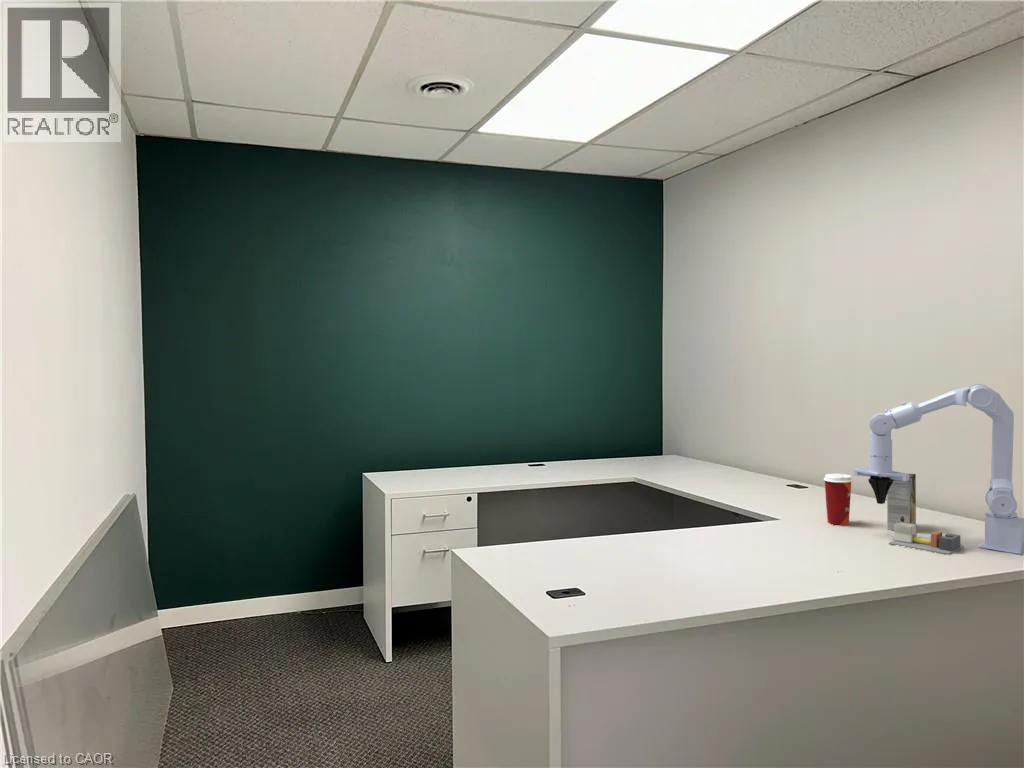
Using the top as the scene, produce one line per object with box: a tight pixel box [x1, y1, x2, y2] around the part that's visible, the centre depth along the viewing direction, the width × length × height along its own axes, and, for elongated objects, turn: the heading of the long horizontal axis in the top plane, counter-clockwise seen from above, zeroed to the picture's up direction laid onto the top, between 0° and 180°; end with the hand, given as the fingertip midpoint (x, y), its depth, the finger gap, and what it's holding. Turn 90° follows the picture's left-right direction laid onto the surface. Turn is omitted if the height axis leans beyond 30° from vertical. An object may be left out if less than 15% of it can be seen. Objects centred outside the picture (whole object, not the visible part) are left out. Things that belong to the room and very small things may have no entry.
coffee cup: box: [823, 473, 853, 526], centre depth 229 cm, size 8×8×15 cm
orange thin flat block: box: [930, 530, 943, 548], centre depth 201 cm, size 1×4×4 cm, turn 130°
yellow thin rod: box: [912, 536, 939, 545], centre depth 204 cm, size 13×1×1 cm, turn 40°
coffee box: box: [886, 473, 917, 531], centre depth 222 cm, size 9×6×16 cm
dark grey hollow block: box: [939, 532, 961, 552], centre depth 199 cm, size 4×6×3 cm, turn 130°
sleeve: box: [893, 522, 918, 543], centre depth 207 cm, size 4×4×4 cm
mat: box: [888, 539, 965, 556], centre depth 203 cm, size 15×11×1 cm
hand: (881, 503), depth 212 cm, fingers closed
